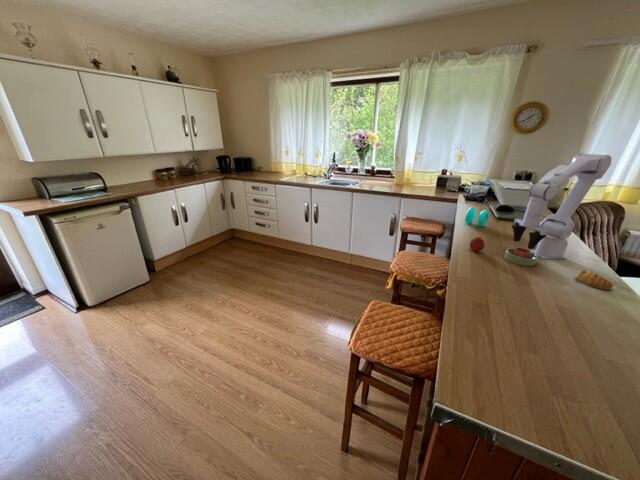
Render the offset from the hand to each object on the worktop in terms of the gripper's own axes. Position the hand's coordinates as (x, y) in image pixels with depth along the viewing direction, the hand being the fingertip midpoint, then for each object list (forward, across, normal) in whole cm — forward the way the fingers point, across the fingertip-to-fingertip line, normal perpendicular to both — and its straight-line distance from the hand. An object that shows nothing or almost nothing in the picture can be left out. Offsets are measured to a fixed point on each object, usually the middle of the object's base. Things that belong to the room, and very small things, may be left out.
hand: (523, 244), depth 107 cm
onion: (+8, -9, -14) cm, 18 cm away
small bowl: (+7, 0, 0) cm, 7 cm away
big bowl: (+7, 0, 0) cm, 7 cm away
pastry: (+8, +18, +14) cm, 24 cm away
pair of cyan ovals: (+8, -45, +9) cm, 47 cm away
